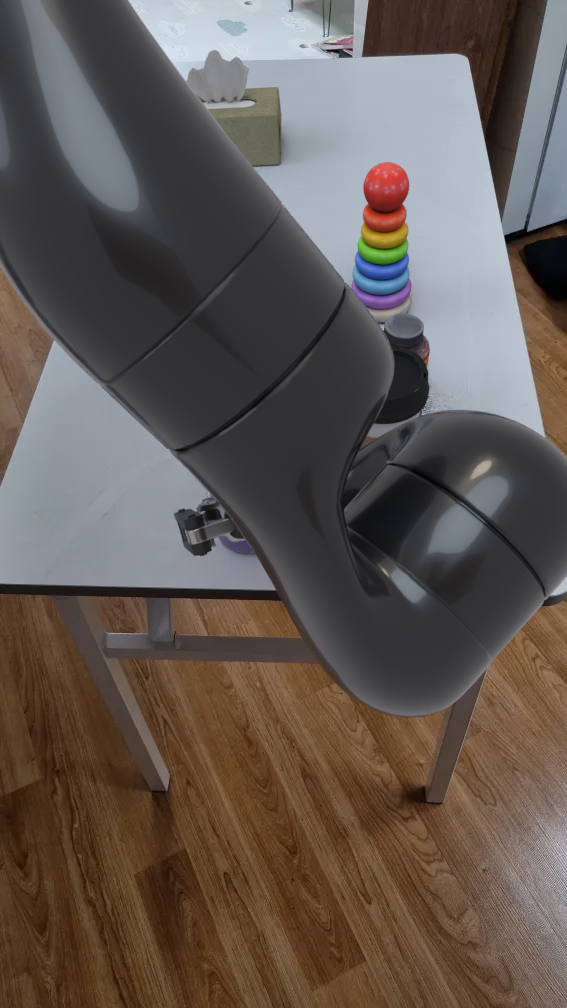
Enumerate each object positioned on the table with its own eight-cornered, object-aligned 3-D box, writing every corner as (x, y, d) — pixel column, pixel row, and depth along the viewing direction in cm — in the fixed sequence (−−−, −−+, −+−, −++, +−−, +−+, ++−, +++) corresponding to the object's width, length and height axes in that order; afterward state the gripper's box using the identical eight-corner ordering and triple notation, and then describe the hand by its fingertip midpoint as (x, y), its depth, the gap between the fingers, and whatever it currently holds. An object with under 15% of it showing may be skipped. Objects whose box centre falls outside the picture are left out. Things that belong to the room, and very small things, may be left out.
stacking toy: (344, 290, 95) (347, 149, 81) (404, 285, 96) (418, 142, 81) (353, 328, 91) (358, 184, 76) (416, 322, 91) (433, 177, 76)
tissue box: (167, 170, 118) (148, 64, 105) (173, 142, 124) (156, 38, 111) (282, 165, 117) (277, 57, 104) (282, 136, 123) (277, 32, 110)
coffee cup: (406, 517, 72) (422, 410, 60) (325, 500, 74) (324, 393, 62) (422, 456, 77) (439, 346, 65) (345, 442, 79) (348, 332, 67)
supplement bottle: (370, 425, 80) (376, 344, 71) (366, 388, 84) (371, 307, 75) (424, 423, 80) (437, 342, 71) (418, 386, 84) (429, 305, 75)
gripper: (411, 415, 41) (333, 423, 57) (172, 488, 39) (159, 475, 55) (444, 538, 42) (358, 513, 58) (212, 618, 40) (188, 568, 56)
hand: (262, 495), depth 56 cm, fingers open, 8 cm apart
